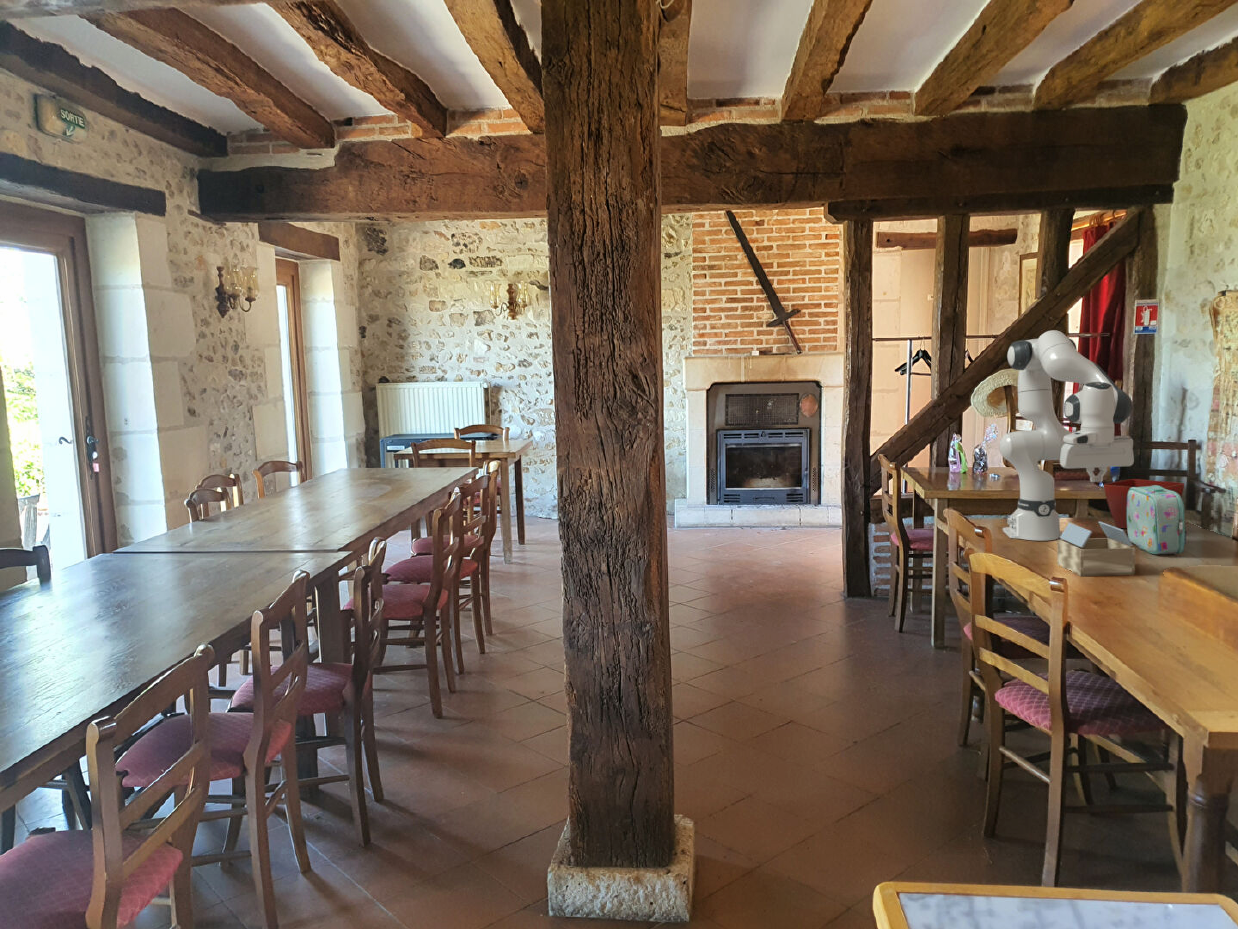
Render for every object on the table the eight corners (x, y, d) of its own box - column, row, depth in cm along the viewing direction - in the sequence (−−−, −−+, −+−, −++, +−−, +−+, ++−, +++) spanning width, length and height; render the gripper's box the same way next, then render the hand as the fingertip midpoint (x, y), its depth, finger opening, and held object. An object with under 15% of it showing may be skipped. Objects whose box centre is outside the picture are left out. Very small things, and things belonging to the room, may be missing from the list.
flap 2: (1107, 536, 260) (1098, 522, 259) (1108, 536, 260) (1099, 521, 259) (1131, 546, 246) (1121, 530, 246) (1132, 545, 246) (1123, 530, 246)
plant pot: (1101, 528, 311) (1102, 483, 309) (1131, 521, 320) (1132, 478, 318) (1154, 535, 295) (1155, 489, 293) (1184, 528, 303) (1185, 483, 302)
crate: (1057, 564, 262) (1057, 539, 261) (1108, 562, 261) (1108, 537, 260) (1080, 576, 247) (1080, 550, 246) (1134, 574, 246) (1135, 548, 245)
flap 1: (1059, 537, 260) (1069, 522, 260) (1061, 538, 260) (1070, 523, 260) (1081, 547, 247) (1091, 531, 246) (1082, 548, 247) (1092, 531, 246)
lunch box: (1191, 558, 262) (1193, 491, 259) (1155, 558, 264) (1156, 492, 261) (1154, 540, 288) (1156, 479, 285) (1122, 540, 290) (1123, 480, 287)
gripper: (1127, 434, 252) (1126, 479, 254) (1057, 437, 253) (1057, 481, 255) (1138, 435, 246) (1137, 482, 247) (1067, 438, 247) (1067, 484, 249)
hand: (1096, 482), depth 251 cm, fingers closed
